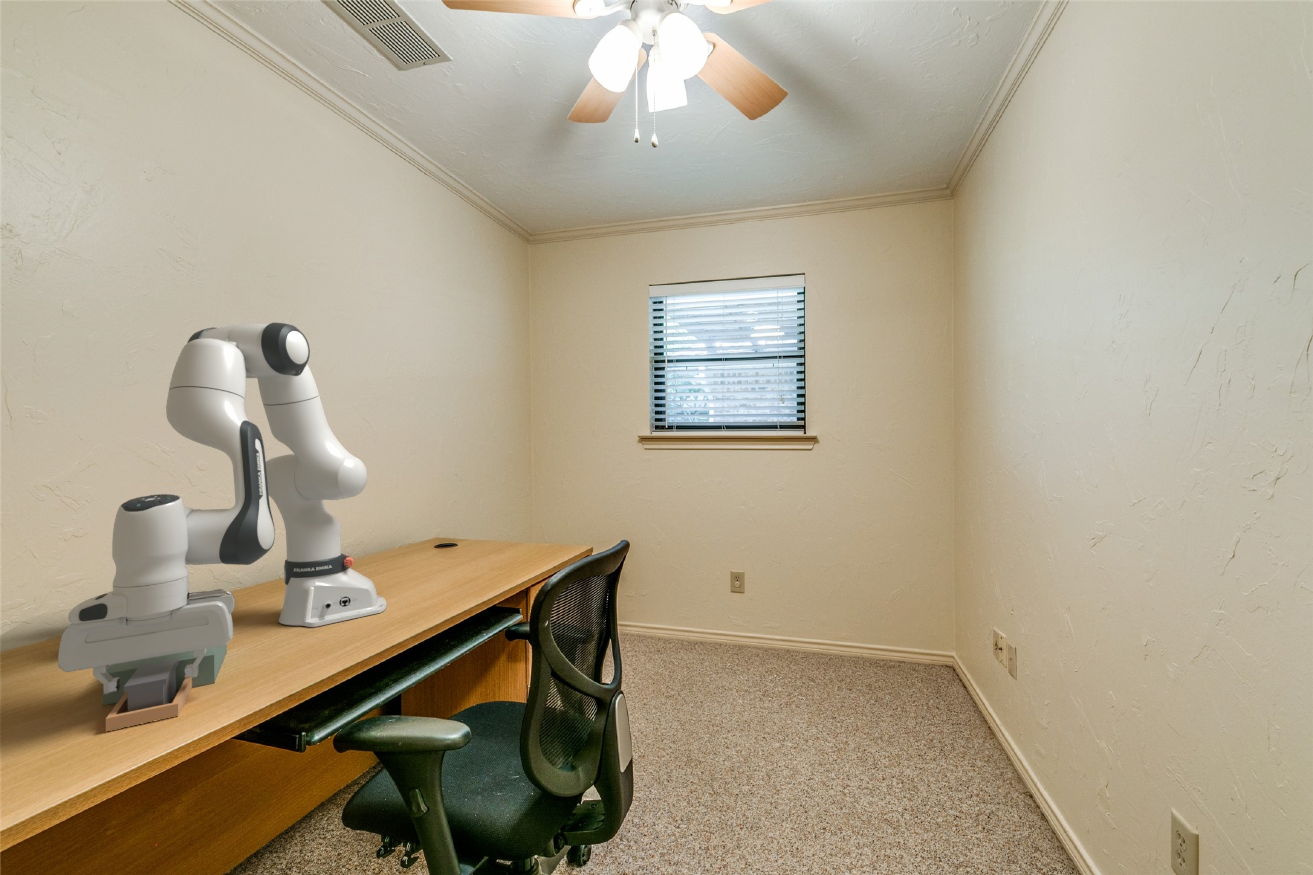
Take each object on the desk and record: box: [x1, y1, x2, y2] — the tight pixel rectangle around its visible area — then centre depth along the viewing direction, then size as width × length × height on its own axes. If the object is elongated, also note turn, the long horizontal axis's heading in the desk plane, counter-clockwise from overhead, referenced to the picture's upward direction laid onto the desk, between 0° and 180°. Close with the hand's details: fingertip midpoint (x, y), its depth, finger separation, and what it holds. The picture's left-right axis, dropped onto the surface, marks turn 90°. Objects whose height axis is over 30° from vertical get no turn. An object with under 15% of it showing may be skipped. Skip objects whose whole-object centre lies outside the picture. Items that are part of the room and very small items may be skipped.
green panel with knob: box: [101, 643, 228, 733], centre depth 92 cm, size 14×27×7 cm, turn 33°
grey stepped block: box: [124, 658, 179, 712], centre depth 86 cm, size 5×9×6 cm, turn 33°
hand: (153, 683), depth 86 cm, fingers open, 8 cm apart
